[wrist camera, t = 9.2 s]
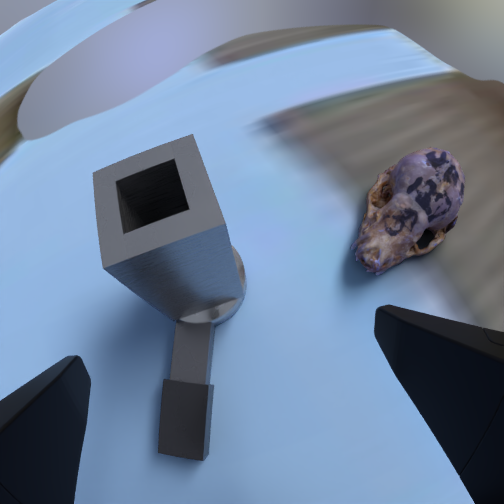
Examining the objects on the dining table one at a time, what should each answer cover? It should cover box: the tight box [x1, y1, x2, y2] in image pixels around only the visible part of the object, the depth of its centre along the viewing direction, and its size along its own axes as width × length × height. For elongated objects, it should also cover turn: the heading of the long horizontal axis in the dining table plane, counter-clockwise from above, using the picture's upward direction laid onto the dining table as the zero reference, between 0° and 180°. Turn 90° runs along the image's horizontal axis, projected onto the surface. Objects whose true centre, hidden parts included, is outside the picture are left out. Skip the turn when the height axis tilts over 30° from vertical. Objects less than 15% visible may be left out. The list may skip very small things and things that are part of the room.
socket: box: [93, 134, 244, 321], centre depth 17 cm, size 5×5×10 cm
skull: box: [351, 147, 465, 275], centre depth 22 cm, size 12×8×6 cm, turn 125°
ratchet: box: [158, 245, 246, 461], centre depth 19 cm, size 16×6×4 cm, turn 176°
